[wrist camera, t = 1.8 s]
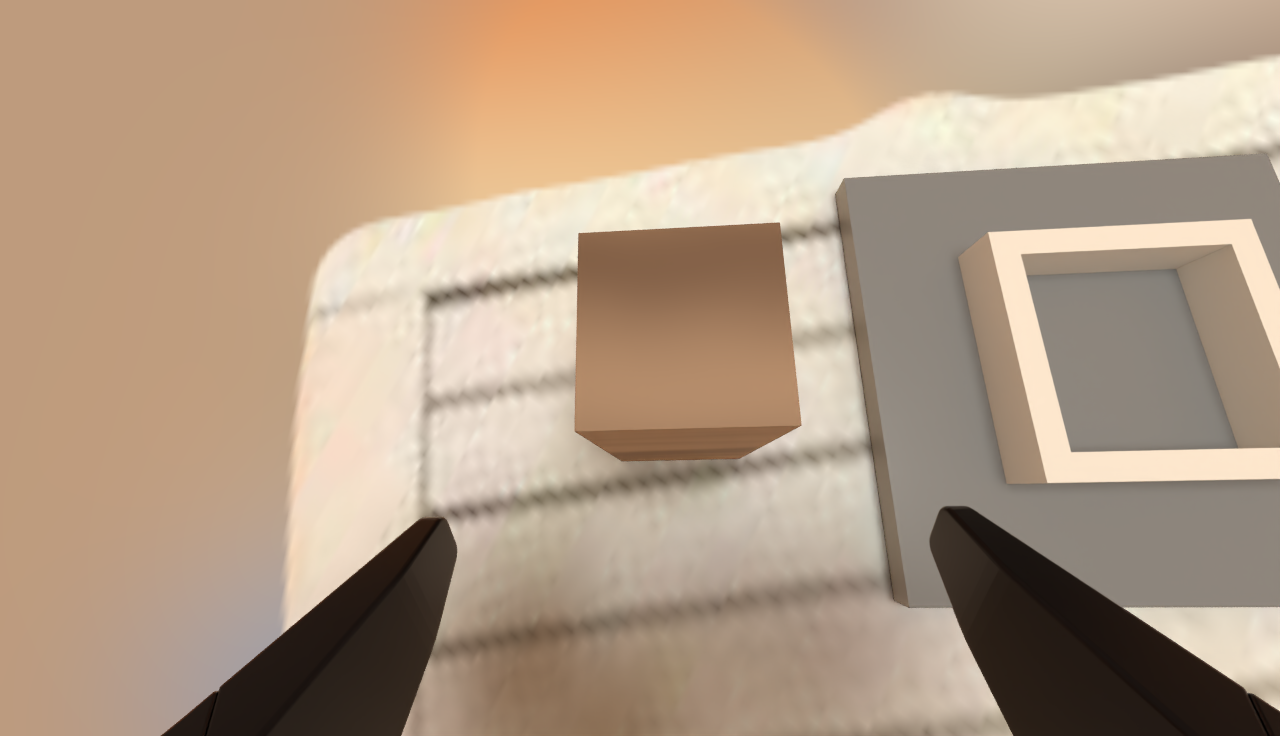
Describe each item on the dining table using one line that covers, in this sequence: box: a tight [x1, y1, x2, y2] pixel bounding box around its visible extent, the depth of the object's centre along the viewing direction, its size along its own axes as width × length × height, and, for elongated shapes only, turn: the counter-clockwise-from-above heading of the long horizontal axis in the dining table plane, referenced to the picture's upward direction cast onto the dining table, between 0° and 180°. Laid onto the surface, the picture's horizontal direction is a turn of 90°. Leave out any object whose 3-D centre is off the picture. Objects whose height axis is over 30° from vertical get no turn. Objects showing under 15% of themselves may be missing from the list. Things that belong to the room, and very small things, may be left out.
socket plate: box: [835, 154, 1280, 608], centre depth 18 cm, size 18×18×3 cm
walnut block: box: [575, 223, 802, 461], centre depth 16 cm, size 5×5×10 cm
